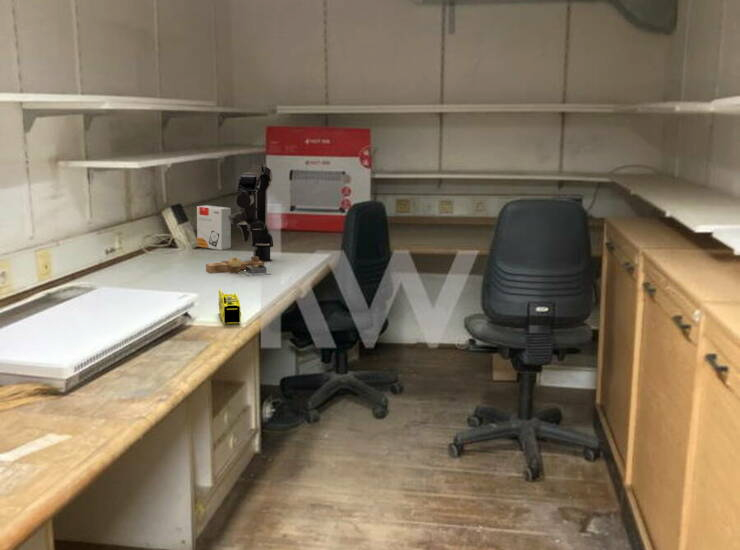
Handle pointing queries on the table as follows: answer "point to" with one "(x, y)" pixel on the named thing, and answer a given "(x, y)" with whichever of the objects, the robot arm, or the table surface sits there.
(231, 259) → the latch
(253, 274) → the mat
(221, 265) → the plane body
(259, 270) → the cap plate
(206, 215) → the hard drive box
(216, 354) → the table surface
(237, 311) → the yellow toy chassis
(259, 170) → the robot arm
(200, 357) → the table surface
